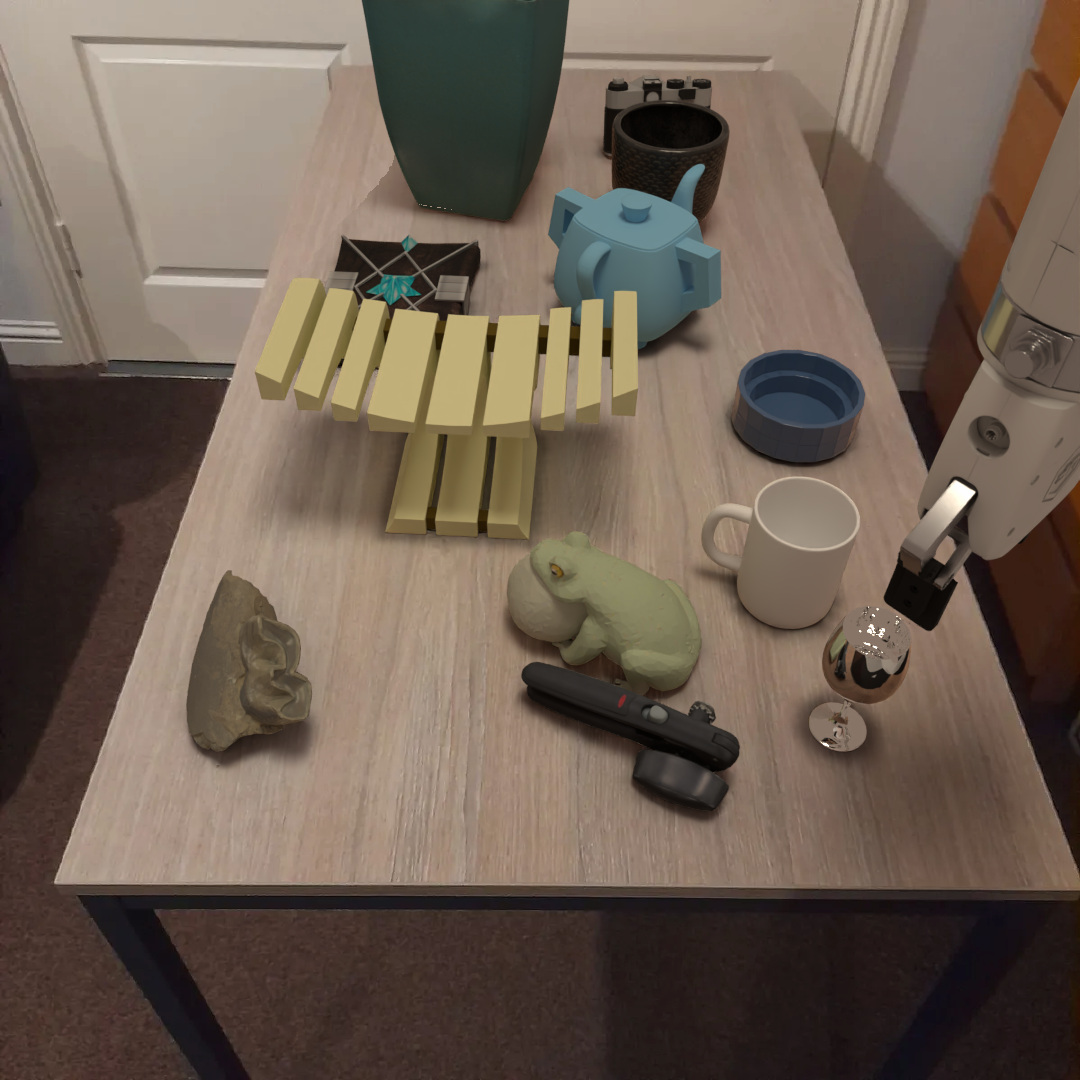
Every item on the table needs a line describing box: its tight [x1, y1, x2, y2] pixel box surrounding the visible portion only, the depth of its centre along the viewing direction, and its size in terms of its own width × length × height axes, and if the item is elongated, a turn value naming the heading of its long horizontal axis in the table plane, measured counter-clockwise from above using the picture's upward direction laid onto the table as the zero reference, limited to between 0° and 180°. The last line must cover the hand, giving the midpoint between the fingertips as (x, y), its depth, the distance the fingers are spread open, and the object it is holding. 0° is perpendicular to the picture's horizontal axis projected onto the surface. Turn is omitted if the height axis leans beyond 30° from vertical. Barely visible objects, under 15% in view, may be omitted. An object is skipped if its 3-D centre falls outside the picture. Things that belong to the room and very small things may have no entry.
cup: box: [700, 475, 861, 630], centre depth 83 cm, size 8×12×10 cm
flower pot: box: [361, 0, 570, 222], centre depth 123 cm, size 20×20×28 cm
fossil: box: [185, 569, 313, 753], centre depth 76 cm, size 14×10×10 cm
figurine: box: [506, 530, 702, 696], centre depth 79 cm, size 10×16×10 cm, turn 66°
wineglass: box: [807, 605, 912, 753], centre depth 73 cm, size 6×6×12 cm
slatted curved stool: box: [254, 277, 639, 540], centre depth 90 cm, size 30×16×18 cm, turn 87°
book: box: [324, 234, 482, 364], centre depth 113 cm, size 22×17×5 cm
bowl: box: [730, 349, 866, 463], centre depth 100 cm, size 12×12×5 cm
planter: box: [611, 100, 731, 224], centre depth 124 cm, size 14×14×13 cm
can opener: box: [520, 661, 741, 812], centre depth 75 cm, size 18×7×6 cm, turn 58°
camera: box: [602, 74, 713, 157], centre depth 140 cm, size 15×11×10 cm
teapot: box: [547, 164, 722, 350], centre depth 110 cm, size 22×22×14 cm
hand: (955, 570), depth 59 cm, fingers open, 9 cm apart
